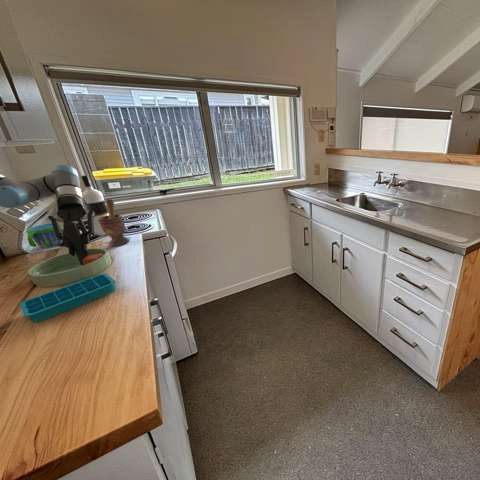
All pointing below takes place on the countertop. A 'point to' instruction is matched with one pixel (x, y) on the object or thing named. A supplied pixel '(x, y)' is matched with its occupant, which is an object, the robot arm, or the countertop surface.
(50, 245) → the green blue printed package
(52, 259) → the bowl
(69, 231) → the dark grey bar
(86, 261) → the block
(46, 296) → the ice cube tray
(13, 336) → the countertop surface
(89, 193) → the vodka
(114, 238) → the mortar and pestle
